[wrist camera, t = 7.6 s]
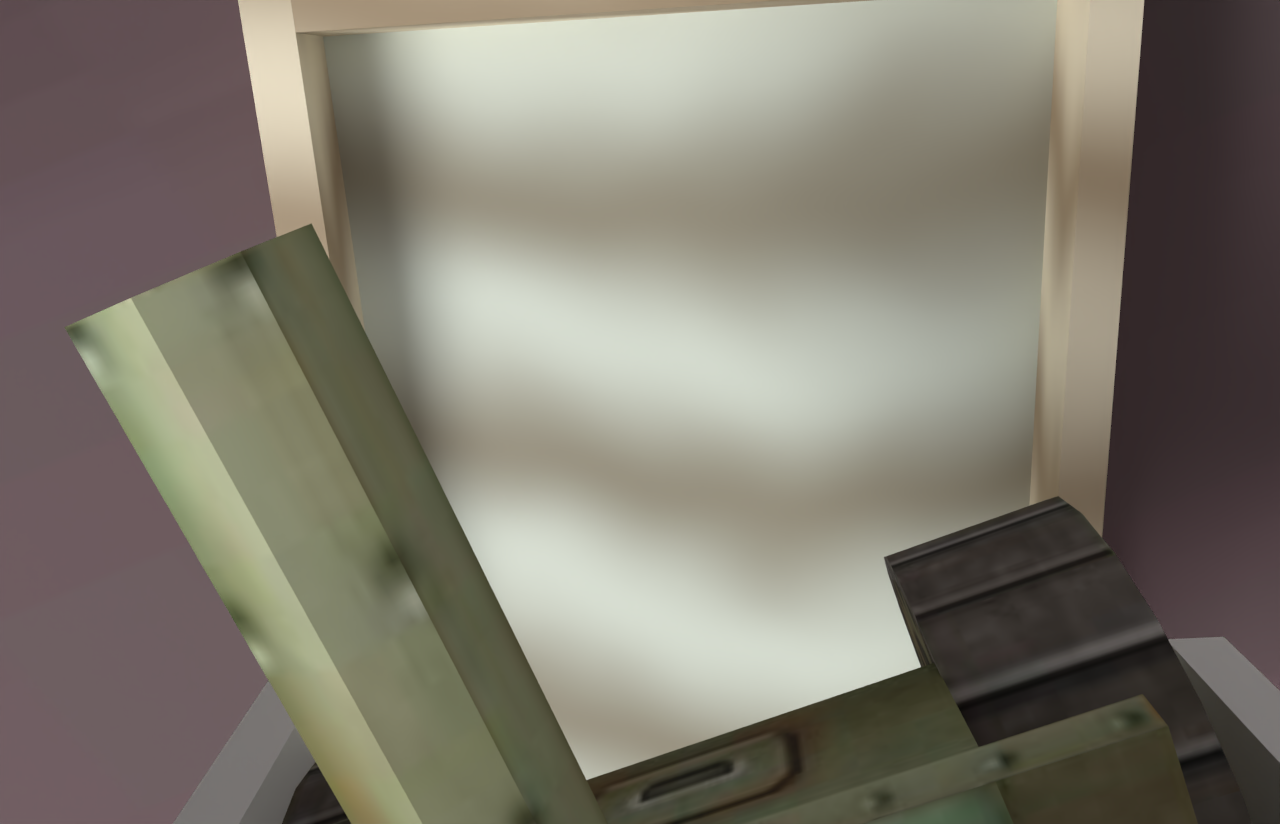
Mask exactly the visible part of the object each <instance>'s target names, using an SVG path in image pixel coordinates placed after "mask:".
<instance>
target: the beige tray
mask: <svg viewBox="0 0 1280 824" xmlns="http://www.w3.org/2000/svg"><path fill="white" fill-rule="evenodd" d="M238 3H239V9H240V15H241V22H242V28H243V34H244V40H245V46H246V52H247V58H248V64H249V70H250V76H251V82H252V89H253V95H254V101H255V107H256V113H257V119H258V125H259V131H260V137H261V143H262V149H263V156H264V162H265V168H266V174H267V180H268V186H269V192H270V198H271V204H272V210H273V217H274V223H275V229H276V235H277V237H279V236H281V235H284V234H286V233H289V232H291V231H294V230H296V229H298V228H301V227H303V226H306V225H308V224H311V223H312V225H313V227H314V229H315V231H316V233H317V235H318V237H319V239H320V242H321V244H322V246H323V248H324V250H325V252H326V254H327V256H328V258H329V260H330V262H331V264H332V266H333V268H334V270H335V272H336V274H337V276H338V278H339V280H340V282H341V284H342V286H343V288H344V290H345V292H346V294H347V296H348V298H349V300H350V302H351V304H352V306H353V308H354V310H355V312H356V314H357V316H358V318H359V320H360V322H361V325H362V327H363V329H364V331H365V333H366V335H367V337H368V339H369V341H370V343H371V345H372V347H373V349H374V351H375V353H376V355H377V357H378V359H379V361H380V363H381V365H382V367H383V369H384V371H385V373H386V375H387V377H388V379H389V381H390V383H391V385H392V387H393V389H394V391H395V393H396V395H397V397H398V399H399V401H400V403H401V405H402V408H403V410H404V412H405V414H406V416H407V418H408V420H409V422H410V424H411V426H412V428H413V430H414V432H415V434H416V436H417V438H418V440H419V442H420V444H421V446H422V448H423V450H424V452H425V454H426V456H427V458H428V460H429V462H430V464H431V466H432V468H433V470H434V472H435V474H436V476H437V478H438V480H439V482H440V484H441V486H442V488H443V491H444V493H445V495H446V497H447V499H448V501H449V503H450V505H451V507H452V509H453V511H454V513H455V515H456V517H457V519H458V521H459V523H460V525H461V527H462V529H463V531H464V533H465V535H466V537H467V539H468V541H469V543H470V545H471V547H472V549H473V551H474V553H475V555H476V557H477V559H478V561H479V563H480V565H481V567H482V569H483V572H484V574H485V576H486V578H487V580H488V582H489V584H490V586H491V588H492V590H493V592H494V594H495V596H496V598H497V600H498V602H499V604H500V606H501V608H502V610H503V612H504V614H505V616H506V618H507V620H508V622H509V624H510V626H511V628H512V630H513V632H514V634H515V636H516V638H517V640H518V642H519V644H520V646H521V648H522V650H523V652H524V655H525V657H526V659H527V661H528V663H529V665H530V667H531V669H532V671H533V673H534V675H535V677H536V679H537V681H538V683H539V685H540V687H541V689H542V691H543V693H544V695H545V697H546V699H547V701H548V703H549V705H550V707H551V709H552V711H553V713H554V715H555V717H556V719H557V721H558V723H559V725H560V727H561V729H562V731H563V733H564V735H565V738H566V740H567V742H568V744H569V746H570V748H571V750H572V752H573V754H574V756H575V758H576V760H577V762H578V764H579V766H580V768H581V770H582V772H583V774H584V776H585V778H586V780H588V779H591V778H594V777H597V776H600V775H603V774H606V773H609V772H612V771H615V770H618V769H621V768H624V767H627V766H630V765H633V764H636V763H639V762H642V761H645V760H647V759H650V758H653V757H656V756H659V755H662V754H665V753H668V752H671V751H674V750H677V749H680V748H683V747H686V746H689V745H692V744H695V743H698V742H701V741H704V740H707V739H710V738H713V737H716V736H719V735H722V734H725V733H727V732H730V731H733V730H736V729H739V728H742V727H745V726H748V725H751V724H754V723H757V722H760V721H763V720H766V719H769V718H772V717H775V716H778V715H781V714H784V713H787V712H790V711H793V710H796V709H799V708H802V707H804V706H807V705H810V704H813V703H816V702H819V701H822V700H825V699H828V698H831V697H834V696H837V695H840V694H843V693H846V692H849V691H852V690H855V689H858V688H861V687H864V686H867V685H870V684H873V683H876V682H879V681H882V680H884V679H887V678H890V677H893V676H896V675H899V674H902V673H905V672H908V671H911V670H914V669H917V668H920V667H921V665H920V663H919V660H918V657H917V655H916V652H915V649H914V647H913V644H912V641H911V638H910V636H909V633H908V630H907V627H906V625H905V622H904V619H903V616H902V614H901V611H900V608H899V605H898V602H897V599H896V596H895V593H894V590H893V587H892V584H891V581H890V578H889V575H888V572H887V568H886V564H885V560H884V557H885V556H888V555H891V554H894V553H897V552H900V551H902V550H905V549H908V548H911V547H914V546H917V545H919V544H922V543H925V542H928V541H931V540H934V539H936V538H939V537H942V536H945V535H948V534H951V533H953V532H956V531H959V530H962V529H965V528H967V527H970V526H973V525H976V524H979V523H982V522H984V521H987V520H990V519H993V518H996V517H999V516H1001V515H1004V514H1007V513H1010V512H1013V511H1016V510H1018V509H1021V508H1024V507H1027V506H1030V505H1033V504H1035V503H1038V502H1041V501H1044V500H1047V499H1050V498H1053V497H1057V496H1059V497H1060V498H1062V499H1063V500H1064V501H1066V502H1067V503H1068V504H1070V505H1071V506H1073V507H1074V508H1075V509H1077V510H1078V511H1080V512H1081V513H1082V514H1083V515H1084V516H1085V518H1086V519H1087V520H1088V521H1089V522H1090V524H1091V525H1092V526H1093V527H1094V529H1095V530H1096V531H1097V532H1098V533H1099V535H1100V536H1101V537H1102V532H1103V519H1104V507H1105V494H1106V481H1107V469H1108V456H1109V443H1110V430H1111V418H1112V405H1113V392H1114V379H1115V367H1116V354H1117V341H1118V329H1119V316H1120V303H1121V290H1122V278H1123V265H1124V252H1125V239H1126V227H1127V214H1128V201H1129V189H1130V176H1131V163H1132V150H1133V138H1134V125H1135V112H1136V99H1137V87H1138V74H1139V61H1140V48H1141V36H1142V23H1143V10H1144V0H238Z"/></svg>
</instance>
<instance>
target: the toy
mask: <svg viewBox="0 0 1280 824" xmlns="http://www.w3.org/2000/svg"><path fill="white" fill-rule="evenodd" d="M65 329H66V331H67V332H68V334H69V336H70V338H71V339H72V341H73V343H74V345H75V346H76V348H77V350H78V352H79V353H80V355H81V357H82V358H83V360H84V362H85V364H86V365H87V367H88V369H89V371H90V372H91V374H92V376H93V377H94V379H95V381H96V383H97V384H98V386H99V388H100V390H101V391H102V393H103V395H104V397H105V398H106V400H107V402H108V403H109V405H110V407H111V409H112V410H113V412H114V414H115V416H116V417H117V419H118V421H119V422H120V424H121V426H122V428H123V429H124V431H125V433H126V435H127V436H128V438H129V440H130V442H131V443H132V445H133V447H134V448H135V450H136V452H137V454H138V455H139V457H140V459H141V461H142V462H143V464H144V466H145V467H146V469H147V471H148V473H149V474H150V476H151V478H152V480H153V481H154V483H155V485H156V487H157V488H158V490H159V492H160V493H161V495H162V497H163V499H164V500H165V502H166V504H167V506H168V507H169V509H170V511H171V512H172V514H173V516H174V518H175V519H176V521H177V523H178V525H179V526H180V528H181V530H182V532H183V533H184V535H185V537H186V538H187V540H188V542H189V544H190V545H191V547H192V549H193V551H194V552H195V554H196V556H197V557H198V559H199V561H200V563H201V564H202V566H203V568H204V570H205V571H206V573H207V575H208V577H209V578H210V580H211V582H212V583H213V585H214V587H215V589H216V590H217V592H218V594H219V596H220V597H221V599H222V601H223V602H224V604H225V606H226V608H227V609H228V611H229V613H230V615H231V616H232V618H233V620H234V622H235V623H236V625H237V627H238V628H239V630H240V632H241V634H242V635H243V637H244V639H245V641H246V642H247V644H248V646H249V647H250V649H251V651H252V653H253V654H254V656H255V658H256V660H257V661H258V663H259V665H260V667H261V668H262V670H263V672H264V673H265V675H266V677H267V679H268V680H269V682H270V684H271V686H272V687H273V689H274V691H275V692H276V694H277V696H278V698H279V699H280V701H281V703H282V705H283V706H284V708H285V710H286V712H287V713H288V715H289V717H290V718H291V720H292V722H293V724H294V725H295V727H296V729H297V731H298V732H299V734H300V736H301V737H302V739H303V741H304V743H305V744H306V746H307V748H308V750H309V751H310V753H311V755H312V757H313V758H314V760H315V763H314V765H313V766H312V767H311V768H310V770H309V771H308V772H307V774H306V775H305V776H304V778H303V779H302V781H301V782H300V783H299V785H298V786H297V787H296V789H295V791H294V794H293V796H292V799H291V801H290V804H289V807H288V809H287V812H286V814H285V817H284V819H283V822H282V824H1252V822H1251V819H1250V816H1249V813H1248V810H1247V807H1246V805H1245V802H1244V799H1243V796H1242V793H1241V790H1240V788H1239V786H1238V783H1237V781H1236V779H1235V777H1234V774H1233V772H1232V770H1231V768H1230V765H1229V763H1228V761H1227V759H1226V756H1225V754H1224V752H1223V750H1222V747H1221V745H1220V743H1219V741H1218V738H1217V736H1216V734H1215V732H1214V729H1213V727H1212V725H1211V723H1210V720H1209V718H1208V716H1207V714H1206V711H1205V709H1204V707H1203V705H1202V702H1201V700H1200V699H1199V697H1198V695H1197V693H1196V691H1195V689H1194V687H1193V685H1192V684H1191V682H1190V680H1189V678H1188V676H1187V674H1186V672H1185V670H1184V669H1183V667H1182V665H1181V663H1180V661H1179V659H1178V657H1177V655H1176V654H1175V652H1174V650H1173V648H1172V646H1171V644H1170V642H1169V640H1168V638H1167V637H1166V635H1165V633H1164V631H1163V629H1162V627H1161V625H1160V623H1159V622H1158V620H1157V618H1156V617H1155V615H1154V613H1153V612H1152V610H1151V609H1150V607H1149V606H1148V604H1147V603H1146V601H1145V599H1144V598H1143V596H1142V595H1141V593H1140V592H1139V590H1138V588H1137V587H1136V585H1135V584H1134V582H1133V581H1132V579H1131V577H1130V576H1129V574H1128V573H1127V571H1126V570H1125V568H1124V567H1123V565H1122V563H1121V562H1120V560H1119V559H1118V557H1117V556H1116V554H1115V553H1114V552H1113V551H1112V549H1111V548H1110V547H1109V546H1108V544H1107V543H1106V542H1105V541H1104V540H1103V538H1102V537H1101V536H1100V535H1099V533H1098V532H1097V531H1096V530H1095V529H1094V527H1093V526H1092V525H1091V524H1090V522H1089V521H1088V520H1087V519H1086V518H1085V516H1084V515H1083V514H1082V513H1081V512H1080V511H1078V510H1077V509H1075V508H1074V507H1073V506H1071V505H1070V504H1068V503H1067V502H1066V501H1064V500H1063V499H1062V498H1060V497H1059V496H1057V497H1053V498H1050V499H1047V500H1044V501H1041V502H1038V503H1035V504H1033V505H1030V506H1027V507H1024V508H1021V509H1018V510H1016V511H1013V512H1010V513H1007V514H1004V515H1001V516H999V517H996V518H993V519H990V520H987V521H984V522H982V523H979V524H976V525H973V526H970V527H967V528H965V529H962V530H959V531H956V532H953V533H951V534H948V535H945V536H942V537H939V538H936V539H934V540H931V541H928V542H925V543H922V544H919V545H917V546H914V547H911V548H908V549H905V550H902V551H900V552H897V553H894V554H891V555H888V556H885V557H884V560H885V564H886V568H887V572H888V575H889V578H890V581H891V584H892V587H893V590H894V593H895V596H896V599H897V602H898V605H899V608H900V611H901V614H902V616H903V619H904V622H905V625H906V627H907V630H908V633H909V636H910V638H911V641H912V644H913V647H914V649H915V652H916V655H917V657H918V660H919V663H920V665H921V667H920V668H917V669H914V670H911V671H908V672H905V673H902V674H899V675H896V676H893V677H890V678H887V679H884V680H882V681H879V682H876V683H873V684H870V685H867V686H864V687H861V688H858V689H855V690H852V691H849V692H846V693H843V694H840V695H837V696H834V697H831V698H828V699H825V700H822V701H819V702H816V703H813V704H810V705H807V706H804V707H802V708H799V709H796V710H793V711H790V712H787V713H784V714H781V715H778V716H775V717H772V718H769V719H766V720H763V721H760V722H757V723H754V724H751V725H748V726H745V727H742V728H739V729H736V730H733V731H730V732H727V733H725V734H722V735H719V736H716V737H713V738H710V739H707V740H704V741H701V742H698V743H695V744H692V745H689V746H686V747H683V748H680V749H677V750H674V751H671V752H668V753H665V754H662V755H659V756H656V757H653V758H650V759H647V760H645V761H642V762H639V763H636V764H633V765H630V766H627V767H624V768H621V769H618V770H615V771H612V772H609V773H606V774H603V775H600V776H597V777H594V778H591V779H588V780H586V778H585V776H584V774H583V772H582V770H581V768H580V766H579V764H578V762H577V760H576V758H575V756H574V754H573V752H572V750H571V748H570V746H569V744H568V742H567V740H566V738H565V735H564V733H563V731H562V729H561V727H560V725H559V723H558V721H557V719H556V717H555V715H554V713H553V711H552V709H551V707H550V705H549V703H548V701H547V699H546V697H545V695H544V693H543V691H542V689H541V687H540V685H539V683H538V681H537V679H536V677H535V675H534V673H533V671H532V669H531V667H530V665H529V663H528V661H527V659H526V657H525V655H524V652H523V650H522V648H521V646H520V644H519V642H518V640H517V638H516V636H515V634H514V632H513V630H512V628H511V626H510V624H509V622H508V620H507V618H506V616H505V614H504V612H503V610H502V608H501V606H500V604H499V602H498V600H497V598H496V596H495V594H494V592H493V590H492V588H491V586H490V584H489V582H488V580H487V578H486V576H485V574H484V572H483V569H482V567H481V565H480V563H479V561H478V559H477V557H476V555H475V553H474V551H473V549H472V547H471V545H470V543H469V541H468V539H467V537H466V535H465V533H464V531H463V529H462V527H461V525H460V523H459V521H458V519H457V517H456V515H455V513H454V511H453V509H452V507H451V505H450V503H449V501H448V499H447V497H446V495H445V493H444V491H443V488H442V486H441V484H440V482H439V480H438V478H437V476H436V474H435V472H434V470H433V468H432V466H431V464H430V462H429V460H428V458H427V456H426V454H425V452H424V450H423V448H422V446H421V444H420V442H419V440H418V438H417V436H416V434H415V432H414V430H413V428H412V426H411V424H410V422H409V420H408V418H407V416H406V414H405V412H404V410H403V408H402V405H401V403H400V401H399V399H398V397H397V395H396V393H395V391H394V389H393V387H392V385H391V383H390V381H389V379H388V377H387V375H386V373H385V371H384V369H383V367H382V365H381V363H380V361H379V359H378V357H377V355H376V353H375V351H374V349H373V347H372V345H371V343H370V341H369V339H368V337H367V335H366V333H365V331H364V329H363V327H362V325H361V322H360V320H359V318H358V316H357V314H356V312H355V310H354V308H353V306H352V304H351V302H350V300H349V298H348V296H347V294H346V292H345V290H344V288H343V286H342V284H341V282H340V280H339V278H338V276H337V274H336V272H335V270H334V268H333V266H332V264H331V262H330V260H329V258H328V256H327V254H326V252H325V250H324V248H323V246H322V244H321V242H320V239H319V237H318V235H317V233H316V231H315V229H314V227H313V225H312V223H311V224H308V225H306V226H303V227H301V228H298V229H296V230H294V231H291V232H289V233H286V234H284V235H281V236H279V237H276V238H274V239H271V240H269V241H266V242H264V243H261V244H259V245H256V246H254V247H251V248H249V249H246V250H244V251H241V252H239V253H237V254H234V255H232V256H229V257H227V258H225V259H222V260H220V261H218V262H215V263H213V264H210V265H208V266H206V267H203V268H201V269H199V270H196V271H194V272H191V273H189V274H187V275H184V276H182V277H180V278H177V279H175V280H172V281H170V282H168V283H165V284H163V285H161V286H158V287H156V288H153V289H151V290H149V291H146V292H144V293H142V294H139V295H137V296H134V297H132V298H130V299H127V300H125V301H123V302H121V303H118V304H116V305H114V306H112V307H109V308H107V309H105V310H103V311H100V312H98V313H96V314H94V315H91V316H89V317H87V318H85V319H82V320H80V321H78V322H75V323H73V324H71V325H69V326H66V327H65Z"/></svg>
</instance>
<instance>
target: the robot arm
mask: <svg viewBox="0 0 1280 824" xmlns="http://www.w3.org/2000/svg"><path fill="white" fill-rule="evenodd" d="M1168 640H1169V642H1170V644H1171V646H1172V648H1173V650H1174V652H1175V654H1176V655H1177V657H1178V659H1179V661H1180V663H1181V665H1182V667H1183V669H1184V670H1185V672H1186V674H1187V676H1188V678H1189V680H1190V682H1191V684H1192V685H1193V687H1194V689H1195V691H1196V693H1197V695H1198V697H1199V699H1200V700H1201V702H1202V705H1203V707H1204V709H1205V711H1206V714H1207V716H1208V718H1209V720H1210V723H1211V725H1212V727H1213V729H1214V732H1215V734H1216V736H1217V738H1218V741H1219V743H1220V745H1221V747H1222V750H1223V752H1224V754H1225V756H1226V759H1227V761H1228V763H1229V765H1230V768H1231V770H1232V772H1233V774H1234V777H1235V779H1236V781H1237V783H1238V786H1239V788H1240V790H1241V793H1242V796H1243V799H1244V802H1245V805H1246V807H1247V810H1248V813H1249V816H1250V819H1251V822H1252V824H1280V691H1279V690H1278V689H1277V688H1276V687H1275V686H1274V685H1273V684H1272V683H1271V682H1270V681H1269V680H1268V679H1267V678H1266V677H1265V676H1264V675H1263V674H1262V673H1261V672H1260V671H1259V670H1258V669H1256V668H1255V667H1254V666H1253V665H1252V664H1251V663H1250V662H1249V661H1248V660H1247V659H1246V658H1245V657H1244V656H1243V655H1242V654H1241V653H1240V652H1239V651H1238V650H1237V649H1236V648H1235V647H1234V646H1233V645H1232V644H1231V643H1230V642H1229V641H1228V640H1227V639H1226V638H1224V637H1209V638H1186V639H1168ZM314 763H315V760H314V758H313V757H312V755H311V753H310V751H309V750H308V748H307V746H306V744H305V743H304V741H303V739H302V737H301V736H300V734H299V732H298V731H297V729H296V727H295V725H294V724H293V722H292V720H291V718H290V717H289V715H288V713H287V712H286V710H285V708H284V706H283V705H282V703H281V701H280V699H279V698H278V696H277V694H276V692H275V691H274V689H273V687H272V686H271V684H270V682H269V680H268V682H267V683H266V685H265V686H264V688H263V689H262V691H261V692H260V694H259V695H258V697H257V698H256V700H255V701H254V703H253V704H252V706H251V707H250V709H249V710H248V712H247V713H246V715H245V716H244V718H243V719H242V721H241V722H240V724H239V725H238V727H237V728H236V730H235V731H234V733H233V734H232V736H231V737H230V739H229V740H228V742H227V743H226V745H225V746H224V748H223V749H222V751H221V752H220V754H219V755H218V757H217V758H216V760H215V761H214V763H213V764H212V766H211V767H210V769H209V770H208V772H207V773H206V775H205V776H204V778H203V779H202V781H201V782H200V784H199V785H198V787H197V788H196V790H195V791H194V793H193V794H192V796H191V797H190V799H189V800H188V802H187V803H186V805H185V806H184V808H183V809H182V811H181V812H180V814H179V815H178V817H177V818H176V820H175V821H174V823H173V824H282V822H283V819H284V817H285V814H286V812H287V809H288V807H289V804H290V801H291V799H292V796H293V794H294V791H295V789H296V787H297V786H298V785H299V783H300V782H301V781H302V779H303V778H304V776H305V775H306V774H307V772H308V771H309V770H310V768H311V767H312V766H313V765H314Z"/></svg>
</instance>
